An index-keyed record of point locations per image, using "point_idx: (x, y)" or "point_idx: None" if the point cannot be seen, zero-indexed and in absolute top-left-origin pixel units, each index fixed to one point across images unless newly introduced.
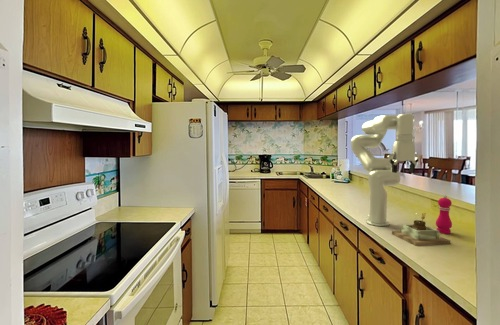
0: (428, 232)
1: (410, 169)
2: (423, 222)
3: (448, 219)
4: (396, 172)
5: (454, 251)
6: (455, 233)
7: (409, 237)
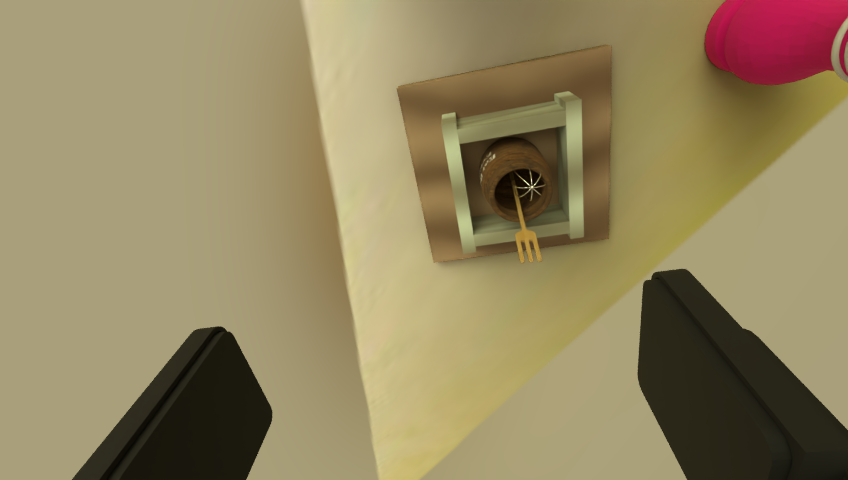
0: None
1: (669, 353)
2: (547, 185)
3: (812, 74)
4: (264, 418)
5: (548, 308)
6: None
7: (441, 200)
